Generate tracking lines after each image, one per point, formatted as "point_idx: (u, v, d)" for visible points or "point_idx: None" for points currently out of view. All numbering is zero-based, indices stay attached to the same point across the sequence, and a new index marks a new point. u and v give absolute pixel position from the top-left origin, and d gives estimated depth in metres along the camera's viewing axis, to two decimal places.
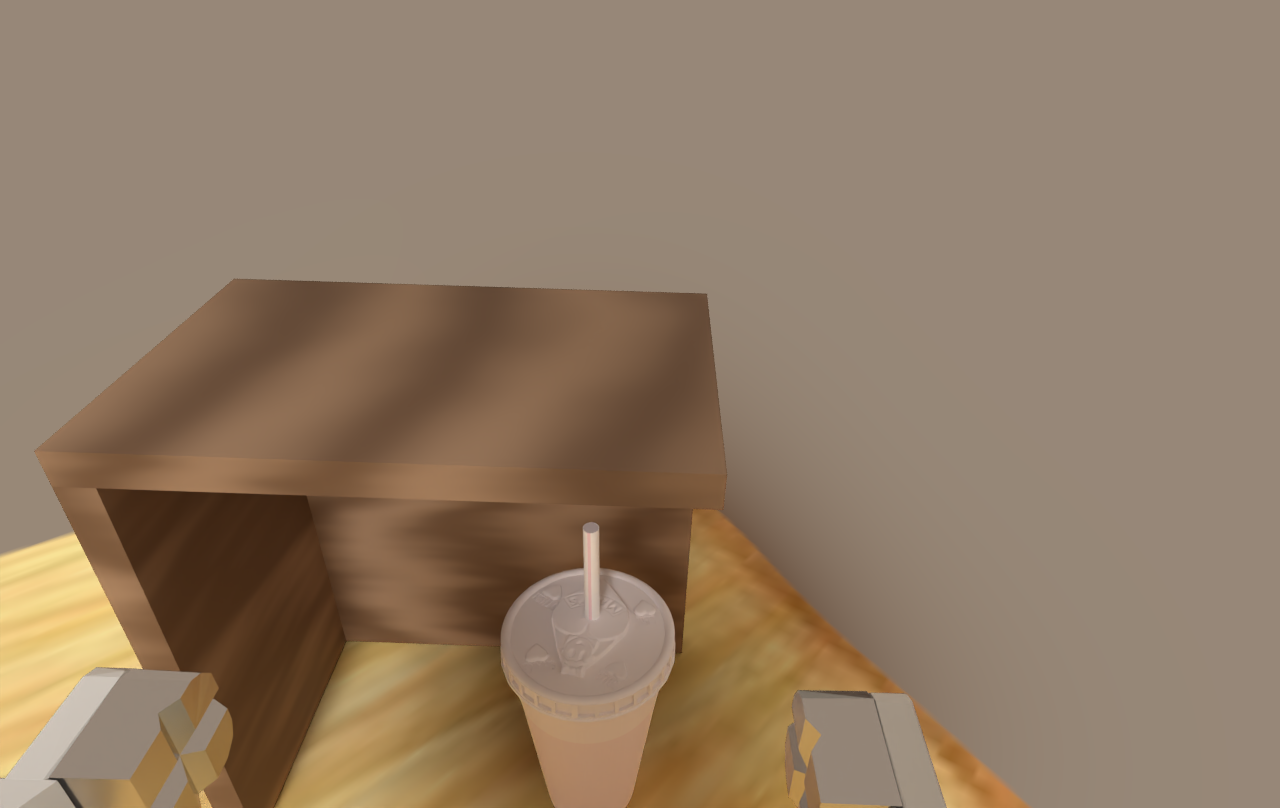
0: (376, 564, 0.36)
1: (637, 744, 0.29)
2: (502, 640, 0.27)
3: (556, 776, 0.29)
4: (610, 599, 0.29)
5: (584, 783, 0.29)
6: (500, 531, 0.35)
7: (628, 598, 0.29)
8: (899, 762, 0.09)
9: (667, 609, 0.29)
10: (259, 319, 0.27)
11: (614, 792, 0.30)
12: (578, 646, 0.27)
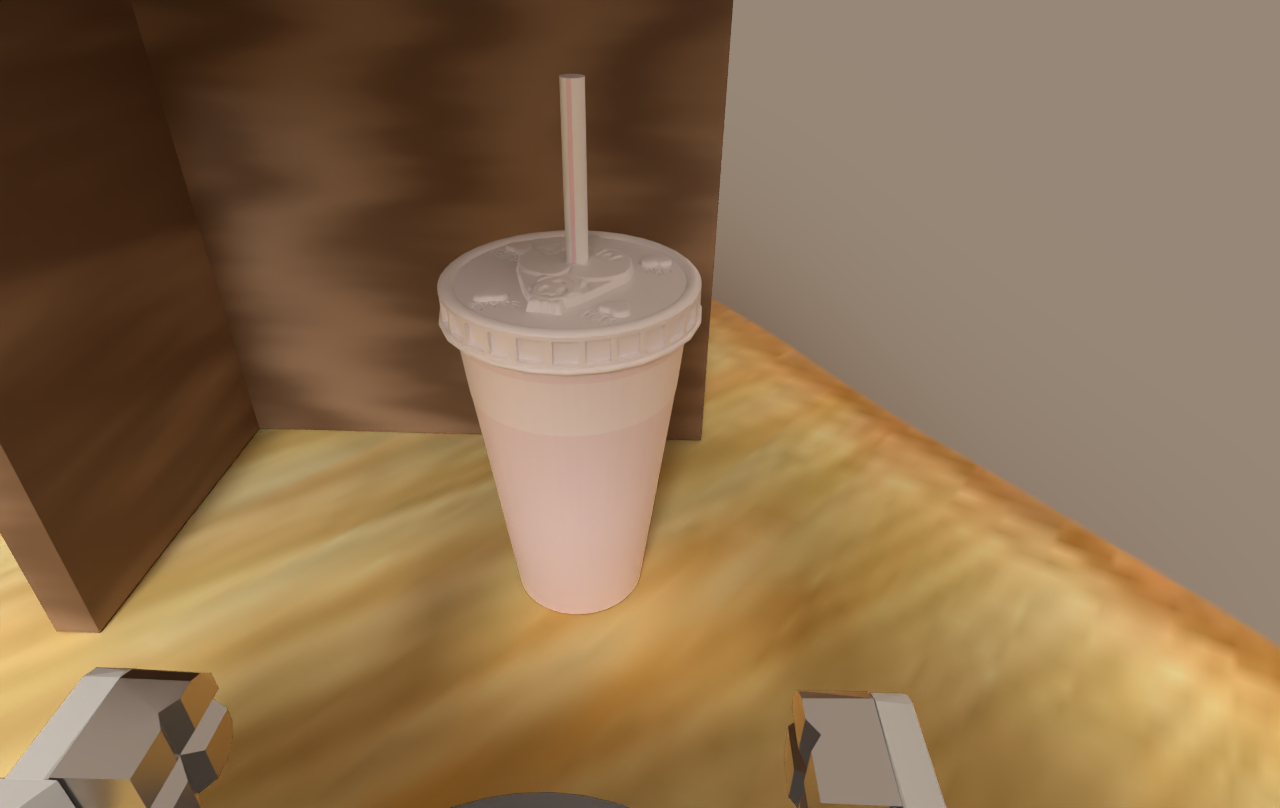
0: (290, 300, 0.27)
1: (645, 466, 0.20)
2: (439, 283, 0.18)
3: (527, 521, 0.20)
4: (604, 249, 0.19)
5: (568, 525, 0.20)
6: (455, 240, 0.25)
7: (631, 254, 0.20)
8: (899, 762, 0.09)
9: (689, 261, 0.19)
10: None
11: (612, 553, 0.21)
12: (554, 283, 0.18)
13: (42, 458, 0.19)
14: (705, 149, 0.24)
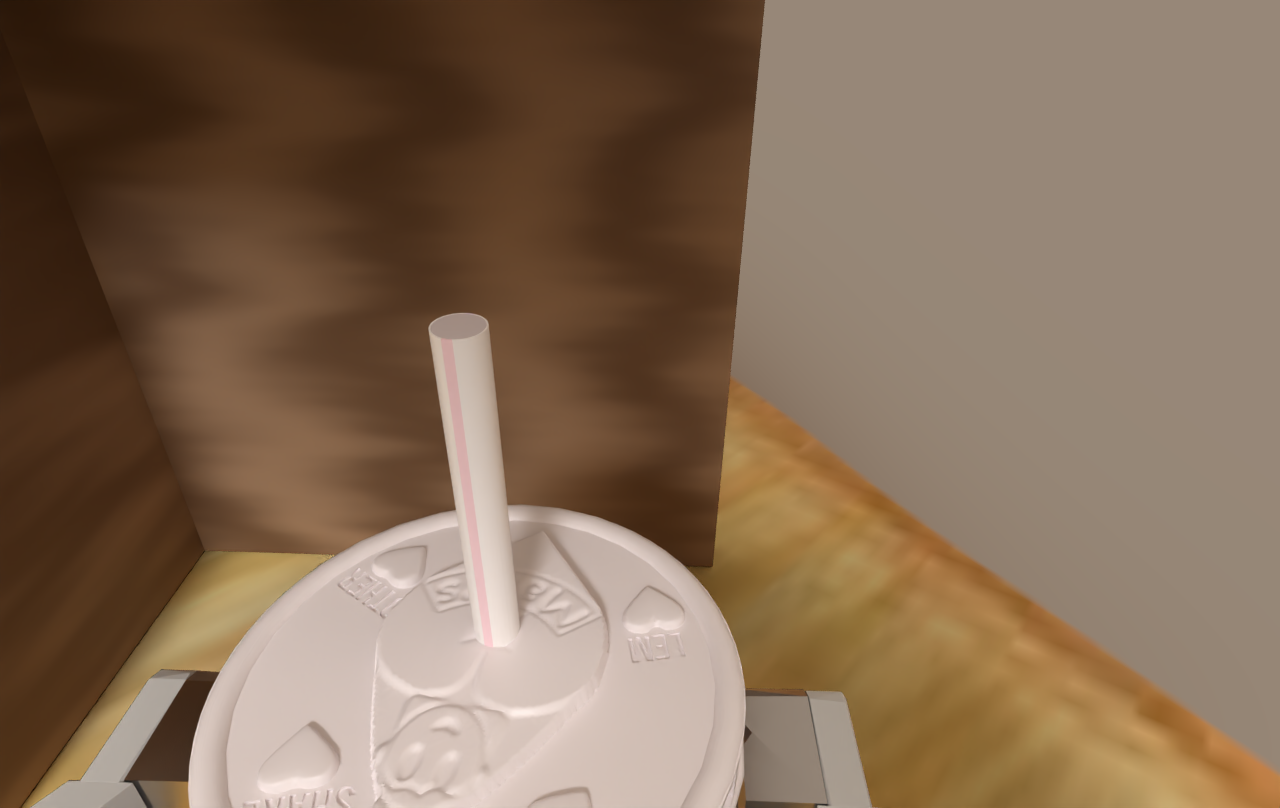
0: (233, 417, 0.23)
1: None
2: (204, 714, 0.09)
3: None
4: (555, 586, 0.10)
5: None
6: (423, 354, 0.21)
7: (607, 583, 0.10)
8: (828, 759, 0.09)
9: (718, 614, 0.10)
10: None
11: None
12: (435, 737, 0.08)
13: None
14: (720, 255, 0.20)
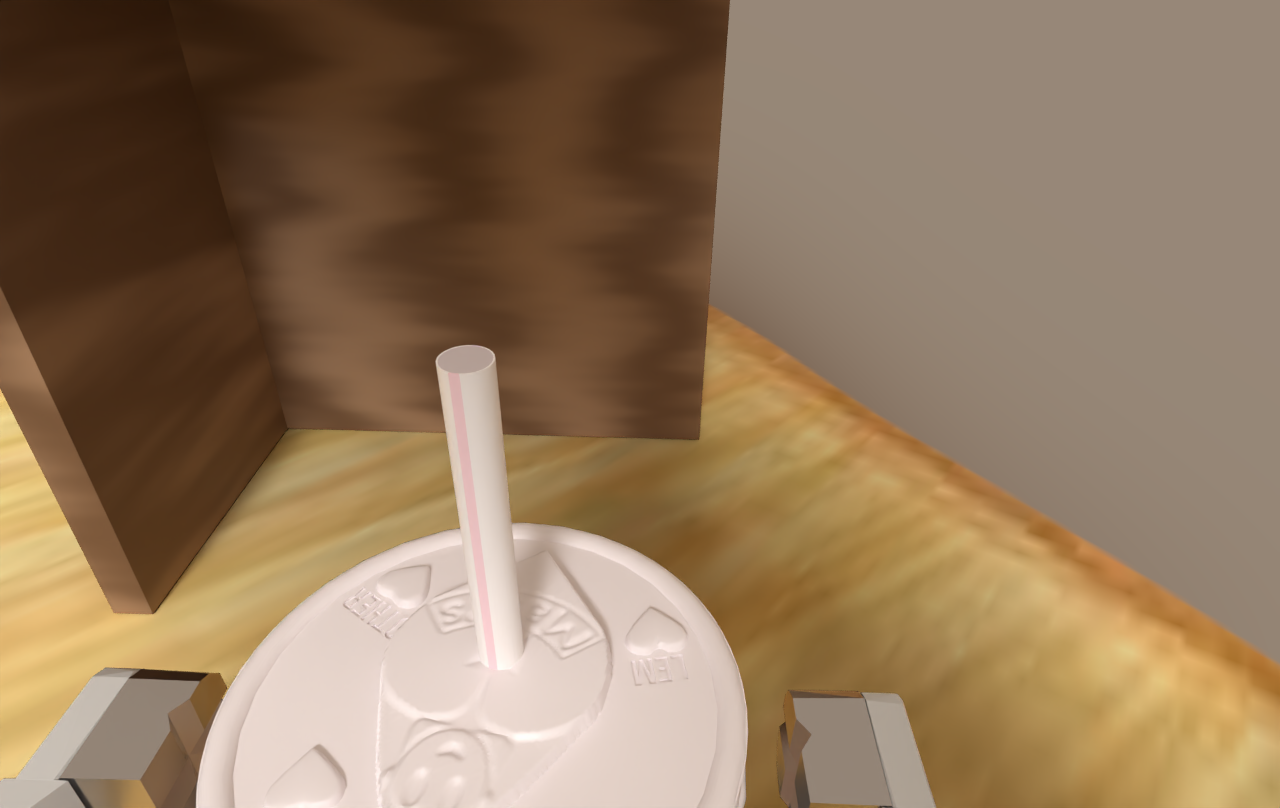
0: (318, 310, 0.29)
1: None
2: (210, 737, 0.09)
3: None
4: (558, 607, 0.10)
5: None
6: (471, 255, 0.28)
7: (610, 604, 0.11)
8: (889, 761, 0.09)
9: (720, 636, 0.10)
10: None
11: None
12: (441, 761, 0.08)
13: (106, 456, 0.21)
14: (702, 172, 0.26)
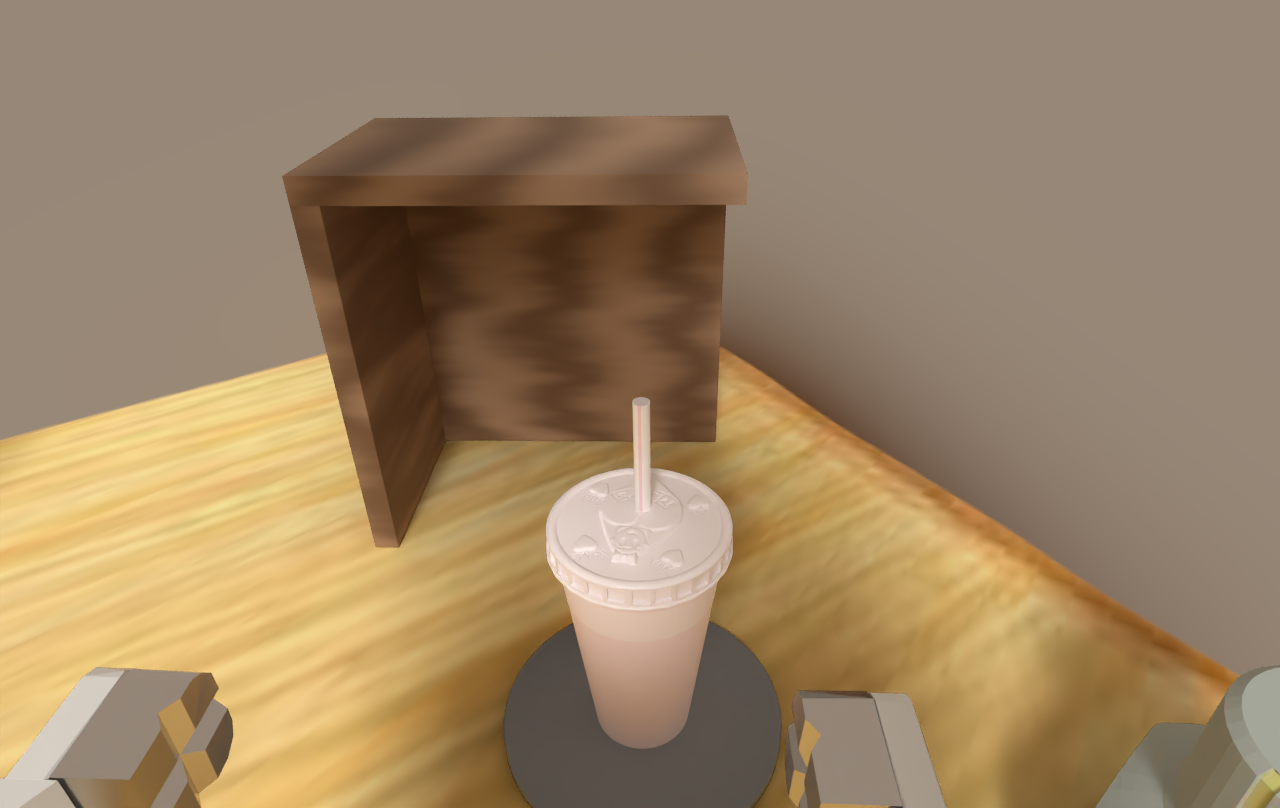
0: (473, 364, 0.46)
1: (694, 650, 0.27)
2: (548, 532, 0.25)
3: (607, 688, 0.27)
4: (661, 493, 0.27)
5: (638, 694, 0.27)
6: (571, 329, 0.44)
7: (680, 494, 0.27)
8: (899, 762, 0.09)
9: (723, 502, 0.27)
10: (402, 131, 0.37)
11: (669, 708, 0.28)
12: (629, 535, 0.25)
13: (384, 454, 0.38)
14: (713, 277, 0.42)
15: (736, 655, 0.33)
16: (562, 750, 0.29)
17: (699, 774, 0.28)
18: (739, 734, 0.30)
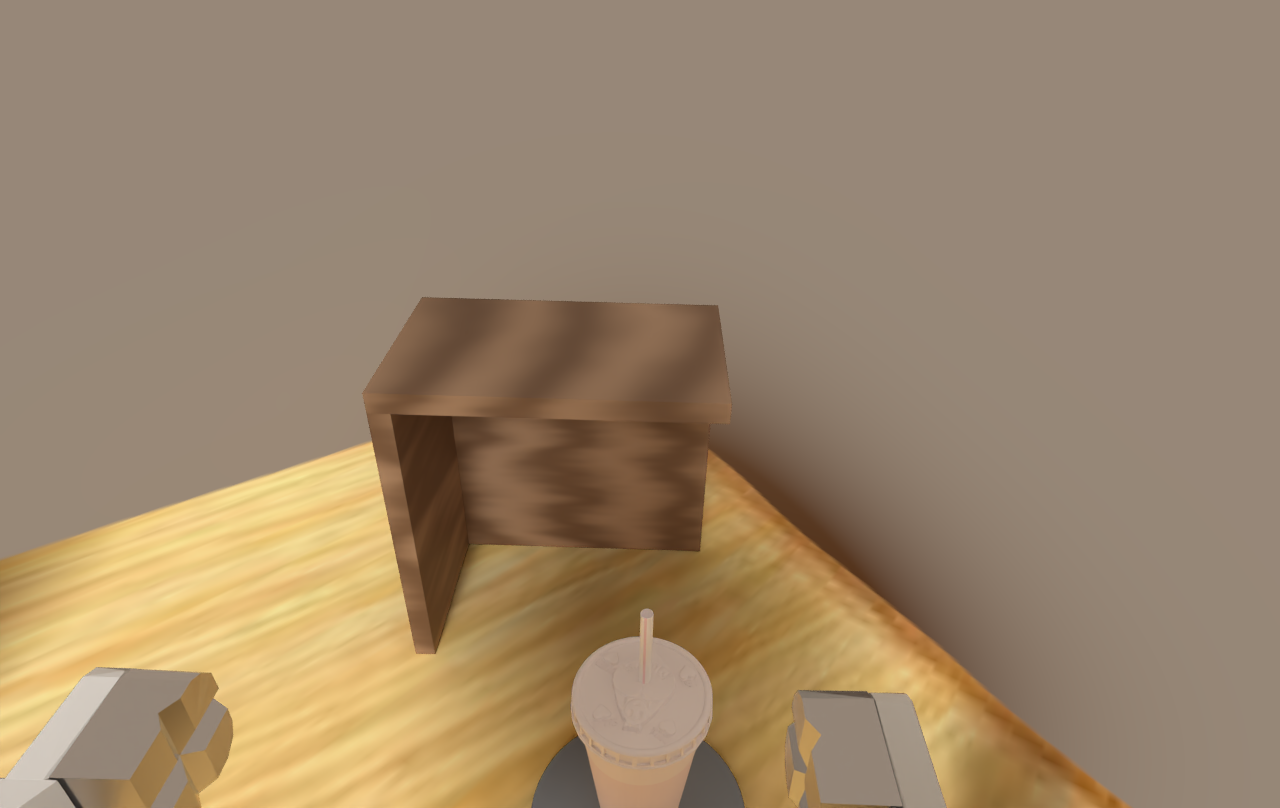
0: (495, 486, 0.54)
1: (680, 784, 0.35)
2: (573, 701, 0.34)
3: None
4: (659, 665, 0.35)
5: None
6: (580, 462, 0.52)
7: (673, 664, 0.36)
8: (899, 762, 0.09)
9: (705, 674, 0.35)
10: (449, 322, 0.45)
11: None
12: (635, 706, 0.33)
13: (427, 583, 0.46)
14: (701, 428, 0.51)
15: (713, 765, 0.42)
16: None
17: None
18: None
